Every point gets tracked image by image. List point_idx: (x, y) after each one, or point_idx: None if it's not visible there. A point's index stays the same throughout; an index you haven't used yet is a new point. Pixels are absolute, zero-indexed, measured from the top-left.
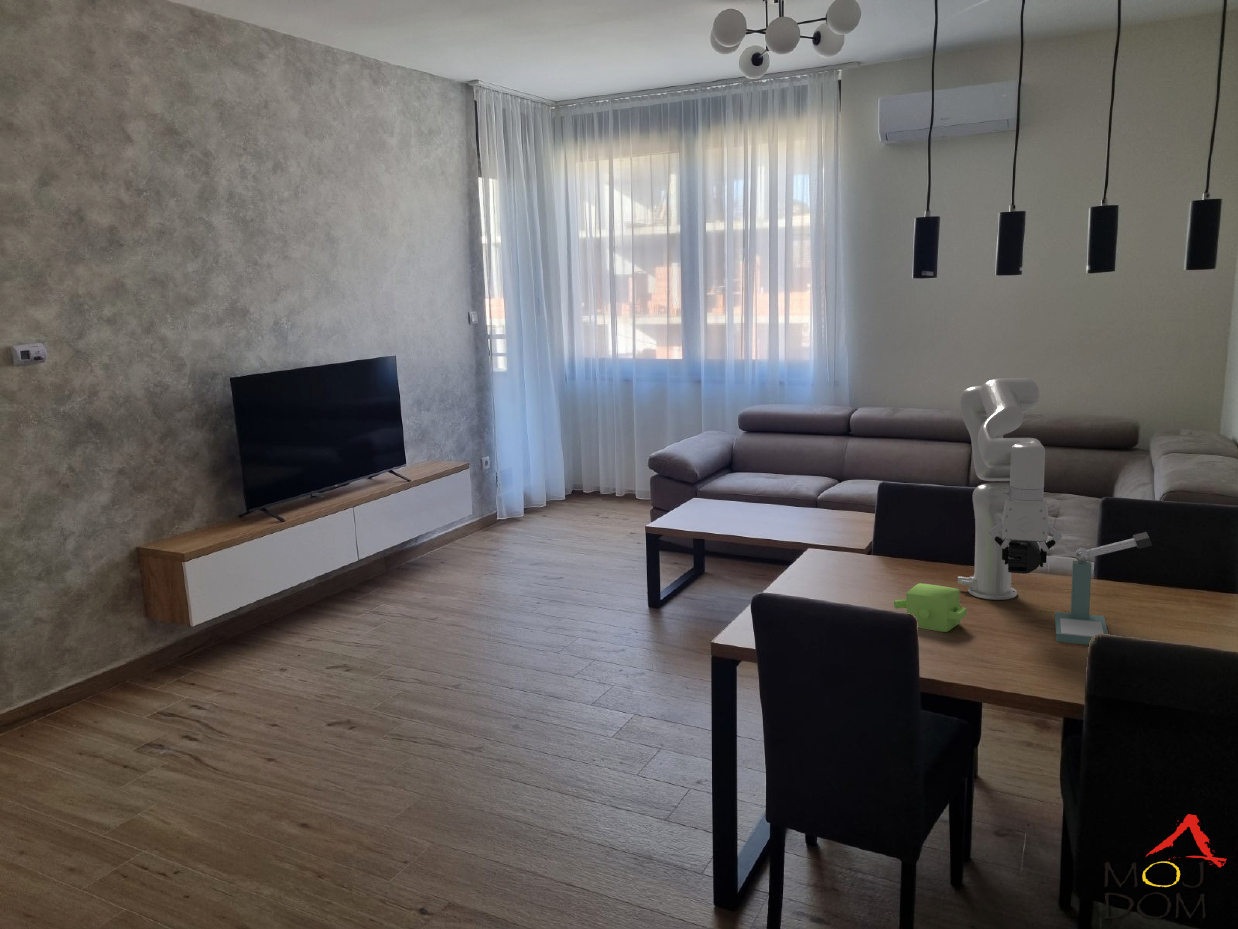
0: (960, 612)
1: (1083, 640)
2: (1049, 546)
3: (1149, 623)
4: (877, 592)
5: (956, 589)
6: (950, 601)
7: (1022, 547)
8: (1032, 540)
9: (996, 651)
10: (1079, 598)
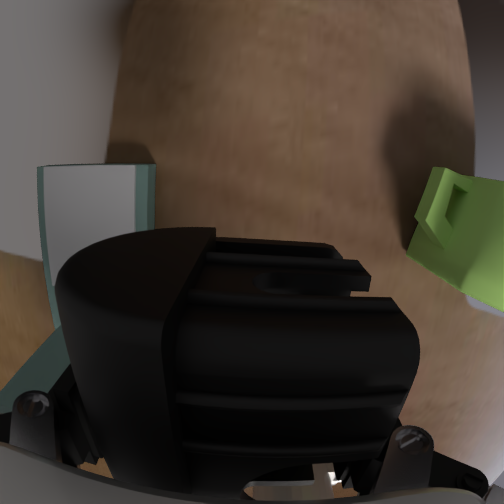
0: (443, 179)
1: (90, 164)
2: (6, 423)
3: (9, 336)
4: (491, 397)
5: (470, 283)
6: (482, 207)
7: (238, 400)
8: (84, 481)
9: (323, 47)
10: None
